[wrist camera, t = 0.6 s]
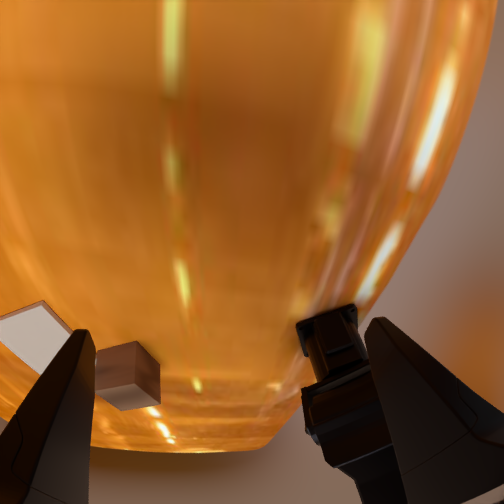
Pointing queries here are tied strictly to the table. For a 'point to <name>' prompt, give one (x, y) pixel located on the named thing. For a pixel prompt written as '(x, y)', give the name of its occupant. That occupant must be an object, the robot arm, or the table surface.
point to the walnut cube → (127, 377)
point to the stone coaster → (34, 334)
